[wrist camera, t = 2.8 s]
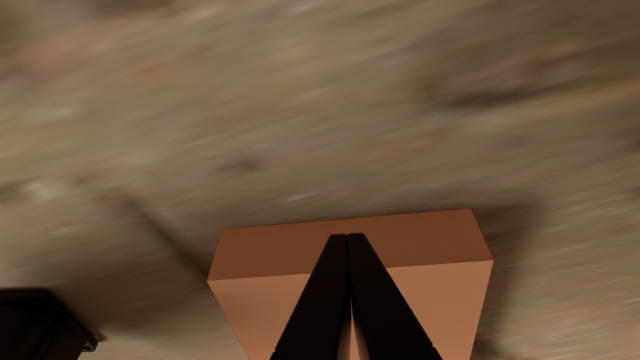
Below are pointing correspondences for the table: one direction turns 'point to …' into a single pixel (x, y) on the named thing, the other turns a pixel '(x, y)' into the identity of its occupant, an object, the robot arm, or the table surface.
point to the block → (393, 250)
